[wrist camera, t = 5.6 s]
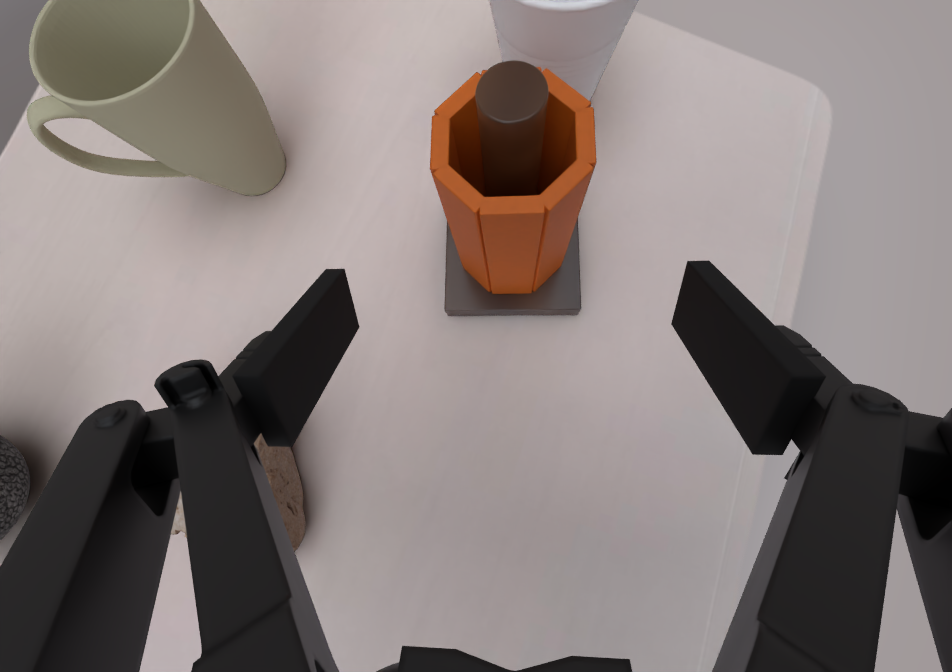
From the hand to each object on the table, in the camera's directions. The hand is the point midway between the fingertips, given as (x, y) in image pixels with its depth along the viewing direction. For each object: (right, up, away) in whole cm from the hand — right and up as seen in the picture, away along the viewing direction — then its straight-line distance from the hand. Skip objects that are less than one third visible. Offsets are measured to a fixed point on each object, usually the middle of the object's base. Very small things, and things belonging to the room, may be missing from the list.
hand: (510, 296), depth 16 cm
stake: (+1, +4, +13) cm, 14 cm away
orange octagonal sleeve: (+1, +5, +11) cm, 12 cm away
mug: (-20, +11, +16) cm, 28 cm away
